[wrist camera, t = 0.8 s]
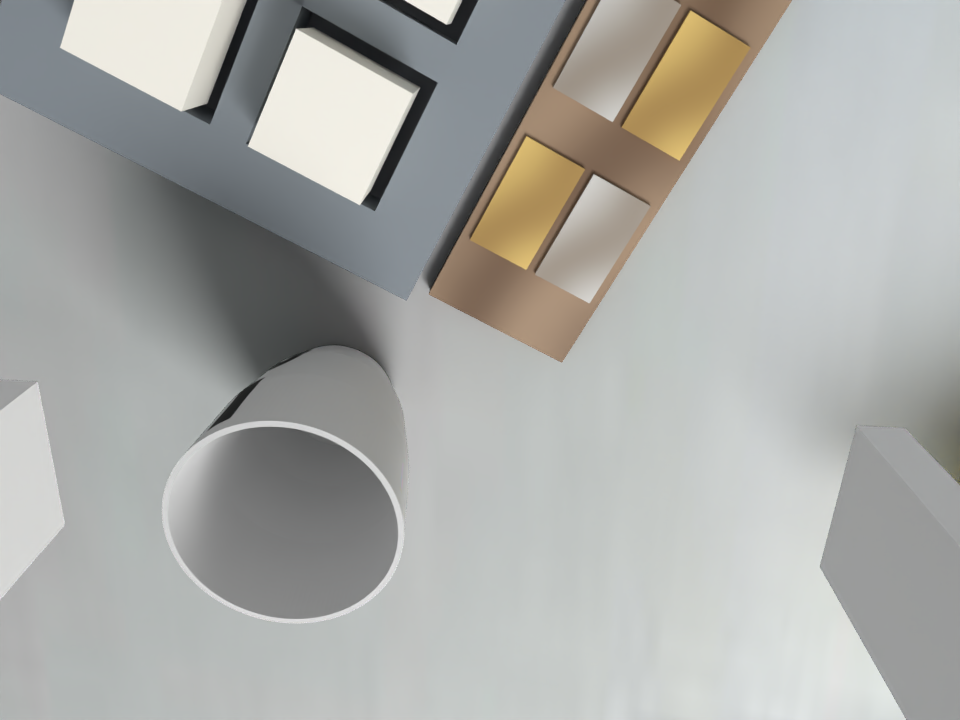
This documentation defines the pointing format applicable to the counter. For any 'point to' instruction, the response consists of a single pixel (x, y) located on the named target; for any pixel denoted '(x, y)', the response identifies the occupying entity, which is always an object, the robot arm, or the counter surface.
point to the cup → (296, 491)
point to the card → (597, 160)
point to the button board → (245, 89)
